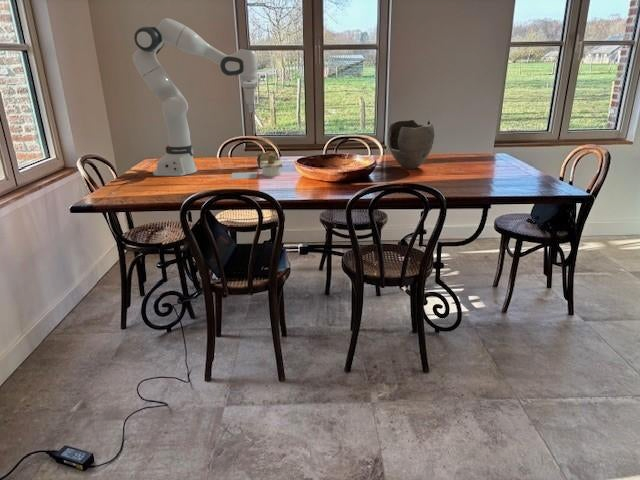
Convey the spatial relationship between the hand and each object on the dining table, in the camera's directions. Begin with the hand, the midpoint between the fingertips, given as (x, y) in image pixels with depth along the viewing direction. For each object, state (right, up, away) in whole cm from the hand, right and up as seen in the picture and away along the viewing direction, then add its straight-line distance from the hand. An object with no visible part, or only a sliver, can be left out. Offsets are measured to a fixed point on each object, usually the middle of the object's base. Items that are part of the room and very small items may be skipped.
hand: (251, 111), depth 238 cm
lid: (+10, -27, -1) cm, 29 cm away
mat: (-4, -33, 0) cm, 33 cm away
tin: (+6, -26, +20) cm, 33 cm away
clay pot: (+83, -27, +13) cm, 89 cm away
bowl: (+10, -33, +1) cm, 34 cm away
